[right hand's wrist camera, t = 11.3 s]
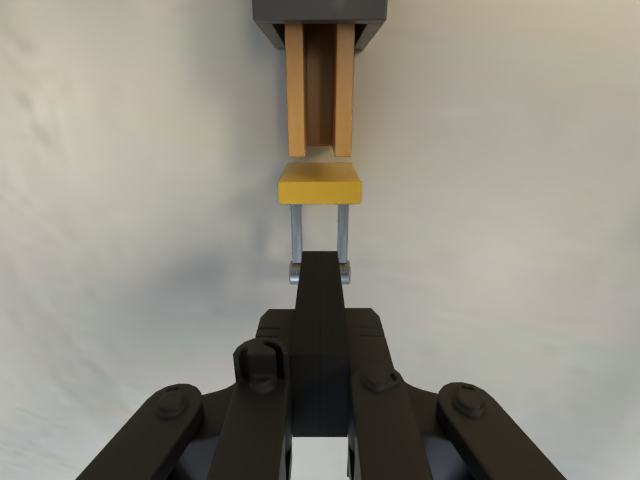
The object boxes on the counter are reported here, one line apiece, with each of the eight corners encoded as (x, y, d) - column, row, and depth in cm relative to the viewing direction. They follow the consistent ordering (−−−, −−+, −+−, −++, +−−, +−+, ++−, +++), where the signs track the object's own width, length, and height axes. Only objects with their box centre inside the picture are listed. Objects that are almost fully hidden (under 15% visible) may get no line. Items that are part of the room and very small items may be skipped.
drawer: (348, 259, 26) (356, 304, 20) (291, 259, 26) (282, 304, 20) (359, -89, 19) (378, -178, 13) (279, -89, 19) (261, -178, 13)
